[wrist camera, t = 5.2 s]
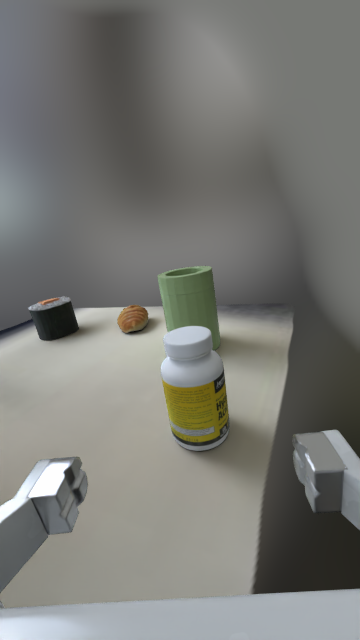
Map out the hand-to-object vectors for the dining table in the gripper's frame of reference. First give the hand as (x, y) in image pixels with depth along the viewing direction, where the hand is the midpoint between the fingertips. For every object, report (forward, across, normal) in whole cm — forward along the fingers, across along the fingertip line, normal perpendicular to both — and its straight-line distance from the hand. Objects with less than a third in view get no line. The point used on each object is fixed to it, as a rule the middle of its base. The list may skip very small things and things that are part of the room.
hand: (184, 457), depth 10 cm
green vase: (+31, 0, -10) cm, 33 cm away
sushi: (+48, -31, -10) cm, 58 cm away
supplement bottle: (+12, 0, -10) cm, 16 cm away
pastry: (+45, -13, -10) cm, 48 cm away
